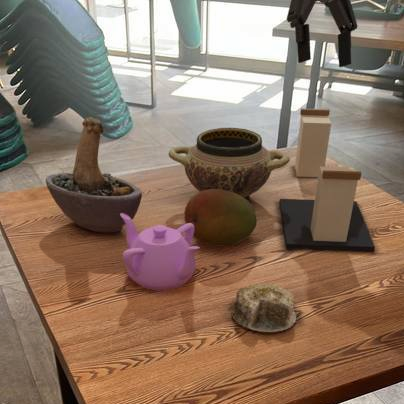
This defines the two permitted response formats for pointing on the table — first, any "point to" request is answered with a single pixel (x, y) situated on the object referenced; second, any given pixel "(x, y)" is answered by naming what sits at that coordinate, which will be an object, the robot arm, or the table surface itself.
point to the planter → (93, 188)
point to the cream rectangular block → (312, 142)
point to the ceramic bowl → (229, 161)
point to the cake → (264, 308)
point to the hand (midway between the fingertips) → (325, 63)
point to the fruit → (220, 217)
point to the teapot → (159, 255)
